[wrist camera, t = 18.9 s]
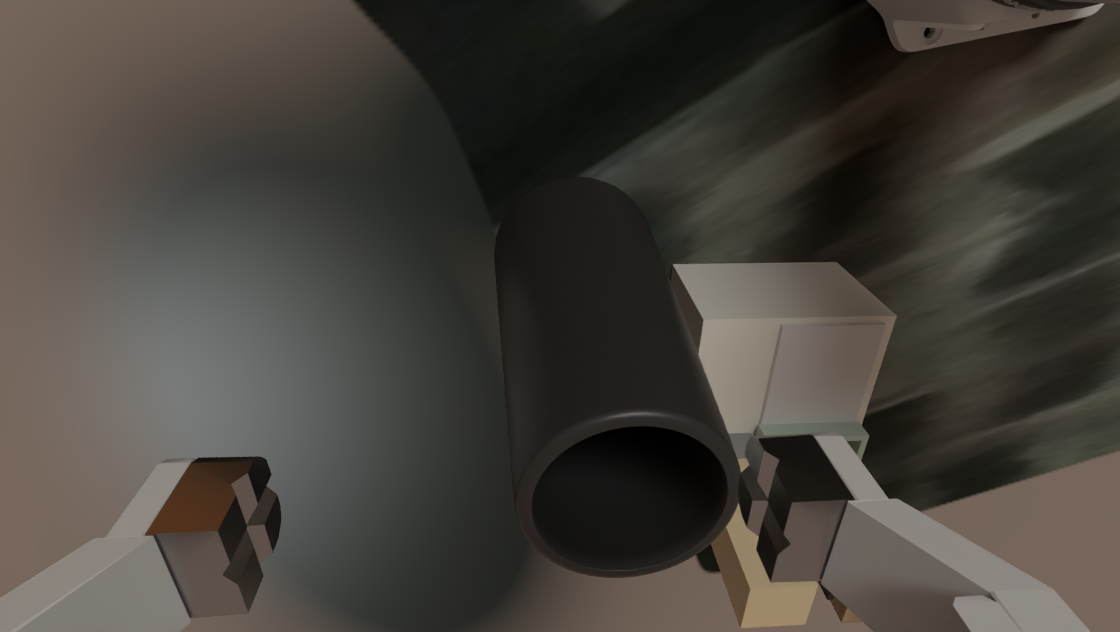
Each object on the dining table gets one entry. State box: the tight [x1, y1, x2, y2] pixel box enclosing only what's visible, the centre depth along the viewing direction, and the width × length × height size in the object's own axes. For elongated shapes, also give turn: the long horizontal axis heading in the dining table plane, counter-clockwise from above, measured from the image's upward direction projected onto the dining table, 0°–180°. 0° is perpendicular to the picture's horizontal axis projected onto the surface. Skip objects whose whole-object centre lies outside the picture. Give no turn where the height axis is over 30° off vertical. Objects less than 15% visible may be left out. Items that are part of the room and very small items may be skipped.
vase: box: [495, 177, 741, 578], centre depth 41 cm, size 14×14×29 cm
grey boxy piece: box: [671, 262, 897, 628], centre depth 49 cm, size 15×19×24 cm
